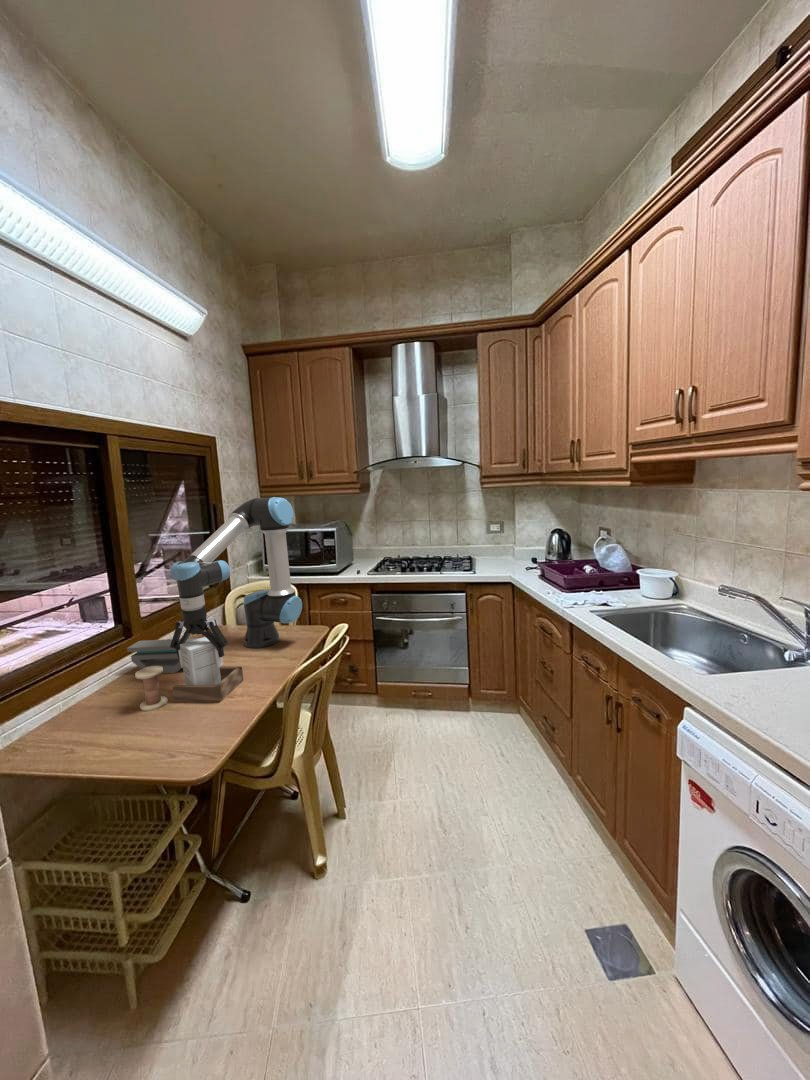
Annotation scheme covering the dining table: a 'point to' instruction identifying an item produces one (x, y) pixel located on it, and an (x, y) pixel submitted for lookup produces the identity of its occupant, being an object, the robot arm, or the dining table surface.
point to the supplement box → (200, 662)
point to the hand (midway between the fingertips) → (202, 665)
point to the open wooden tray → (210, 687)
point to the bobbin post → (151, 688)
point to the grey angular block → (156, 654)
